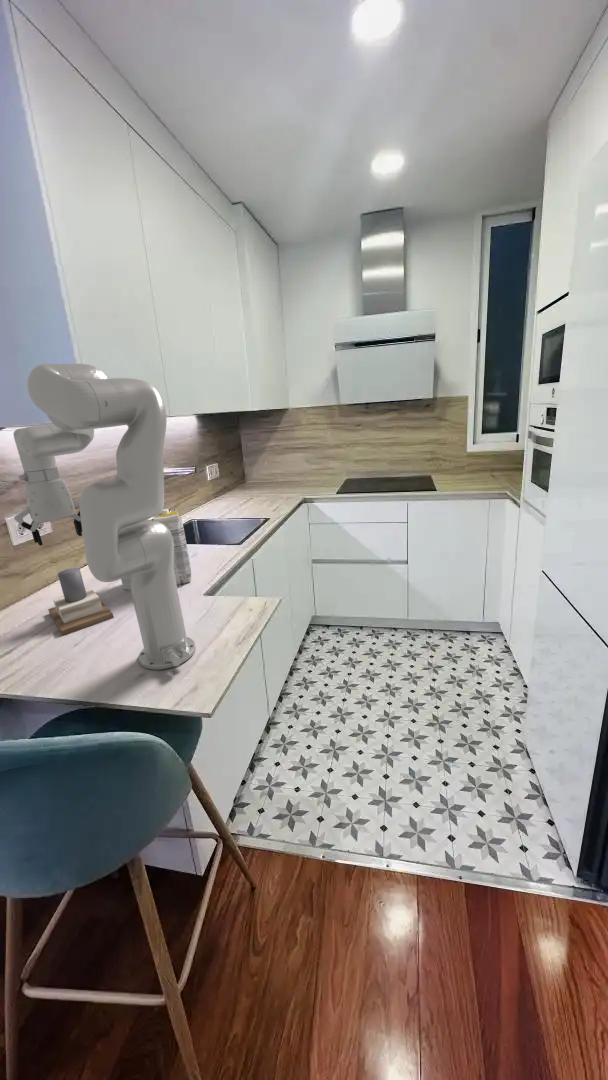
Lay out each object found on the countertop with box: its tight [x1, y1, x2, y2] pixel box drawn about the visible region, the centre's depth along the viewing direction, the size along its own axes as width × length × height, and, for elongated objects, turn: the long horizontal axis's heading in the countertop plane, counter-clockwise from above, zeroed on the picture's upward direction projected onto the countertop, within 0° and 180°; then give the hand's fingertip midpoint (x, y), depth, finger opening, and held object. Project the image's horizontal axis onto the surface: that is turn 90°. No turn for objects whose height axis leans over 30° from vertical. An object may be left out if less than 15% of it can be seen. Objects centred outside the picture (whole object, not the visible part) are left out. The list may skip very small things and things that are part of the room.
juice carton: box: [151, 508, 192, 586], centre depth 140 cm, size 9×8×24 cm
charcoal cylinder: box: [57, 567, 87, 602], centre depth 122 cm, size 6×6×8 cm
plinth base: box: [47, 587, 114, 636], centre depth 124 cm, size 18×13×6 cm
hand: (60, 539), depth 118 cm, fingers open, 9 cm apart
